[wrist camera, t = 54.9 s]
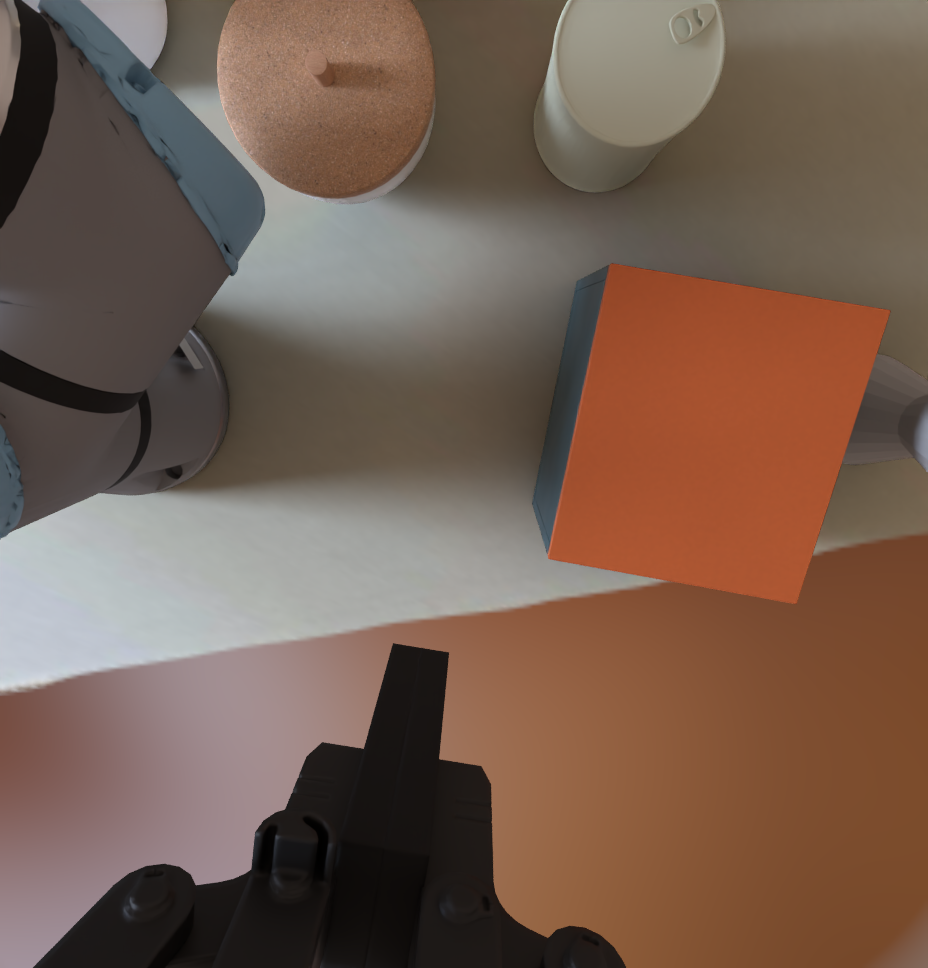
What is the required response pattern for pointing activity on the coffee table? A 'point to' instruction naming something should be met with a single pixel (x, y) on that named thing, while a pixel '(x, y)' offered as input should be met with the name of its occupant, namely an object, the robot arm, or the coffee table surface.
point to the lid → (711, 431)
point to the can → (624, 85)
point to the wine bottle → (131, 24)
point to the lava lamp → (891, 416)
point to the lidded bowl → (329, 92)
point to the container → (567, 399)
